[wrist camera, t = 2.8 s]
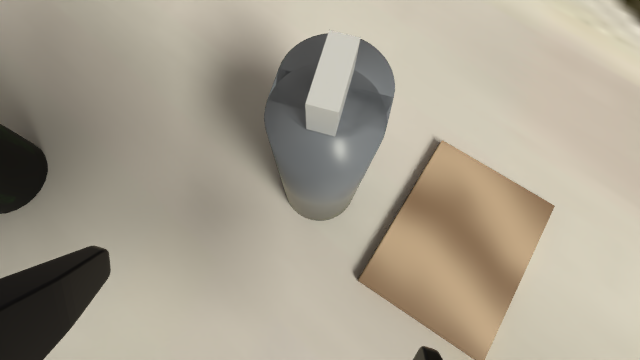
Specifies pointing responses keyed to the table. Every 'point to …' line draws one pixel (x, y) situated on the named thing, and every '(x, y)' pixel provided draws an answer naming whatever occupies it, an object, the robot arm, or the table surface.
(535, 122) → the table surface
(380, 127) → the grey tall rounded piece
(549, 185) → the table surface
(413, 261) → the cork pad
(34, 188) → the cup
